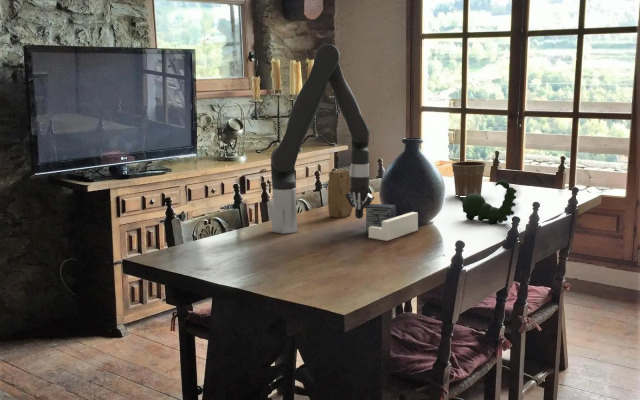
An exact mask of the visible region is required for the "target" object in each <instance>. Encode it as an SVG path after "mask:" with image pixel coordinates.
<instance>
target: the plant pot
mask: <svg viewBox="0 0 640 400" xmlns="http://www.w3.org/2000/svg"><path fill="white" fill-rule="evenodd" d="M450 165H451V167H452V172H453V178H454V179H453V180H454V182H453V183H454V191H455V193H454V194H455V196H456V195H458V196H467V195H469V194H472V193H476V194H479V195H481V196H482V188H483V179H484V172H485V166H486V163H485V162H482V161H468V160H467V161H455V162H451V164H450Z"/></svg>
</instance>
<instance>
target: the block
mask: <svg viewBox="0 0 640 400" xmlns="http://www.w3.org/2000/svg"><path fill="white" fill-rule="evenodd" d="M328 178H329V179H328V180H327V181H328V183H327V185H328V186H327V203H328V204H327V205H328V214H329V216H330V217H332V218H337V219H340V218H346V217H349V216H350V215H351V214H352V211H353V209H354V207H352V206H351V205H350V203H349V201H348V199H347V198H346V196H345V194H347V193H349V192H350V189H351V186H350V170H349V169H340V168H339V169H336V170H331V171H329V173H328Z"/></svg>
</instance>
